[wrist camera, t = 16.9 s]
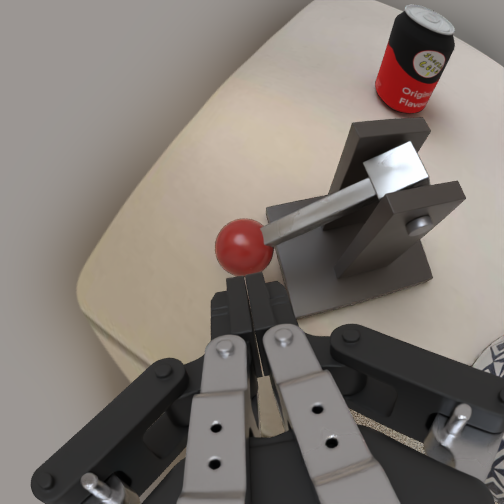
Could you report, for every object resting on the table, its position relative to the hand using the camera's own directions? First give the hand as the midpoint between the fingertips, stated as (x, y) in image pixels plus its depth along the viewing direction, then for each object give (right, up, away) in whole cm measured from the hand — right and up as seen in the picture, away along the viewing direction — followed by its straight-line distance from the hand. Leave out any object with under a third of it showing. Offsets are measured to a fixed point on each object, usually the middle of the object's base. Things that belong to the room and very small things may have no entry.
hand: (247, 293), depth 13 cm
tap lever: (+5, +3, +6) cm, 8 cm away
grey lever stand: (+8, +2, +12) cm, 15 cm away
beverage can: (+17, +19, +17) cm, 31 cm away
